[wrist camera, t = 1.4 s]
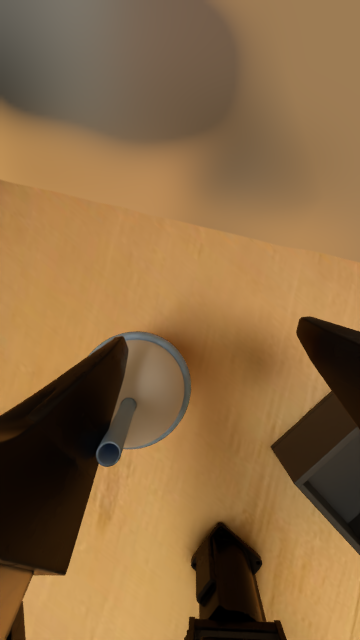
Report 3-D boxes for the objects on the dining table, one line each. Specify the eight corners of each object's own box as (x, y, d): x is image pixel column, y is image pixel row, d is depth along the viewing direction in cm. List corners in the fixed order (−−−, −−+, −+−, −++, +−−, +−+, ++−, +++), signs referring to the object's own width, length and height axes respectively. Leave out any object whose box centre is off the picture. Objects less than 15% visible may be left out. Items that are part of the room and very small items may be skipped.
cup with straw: (189, 355, 25) (268, 407, 7) (153, 412, 24) (142, 644, 6) (136, 319, 24) (77, 282, 7) (96, 376, 23) (-104, 516, 5)
